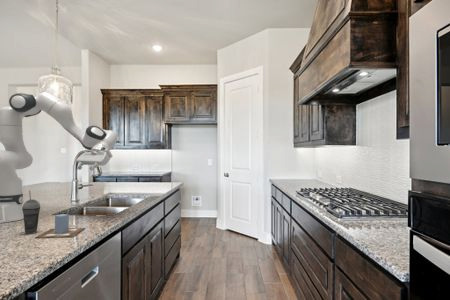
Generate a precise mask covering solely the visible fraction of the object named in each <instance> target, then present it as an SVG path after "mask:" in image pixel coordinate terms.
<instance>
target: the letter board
mask: <svg viewBox="0 0 450 300" xmlns="http://www.w3.org/2000/svg"><path fill="white" fill-rule="evenodd" d="M84 230H86V227H69V232H66V233H62V234H59V233H55V228H50V229H47V230H45V231H44V232H42V233H40V234H38V235H36V236H35V237H34V238H35V239H57V238H58V239H60V238H61V239H62V238H75V237H76V236H78V235H79V234H80V233H82V232H83V231H84Z"/></svg>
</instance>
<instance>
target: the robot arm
mask: <svg viewBox="0 0 450 300" xmlns="http://www.w3.org/2000/svg"><path fill="white" fill-rule="evenodd" d="M8 100H9V101H8V104H9V106H4V107H2V108H0V143H1V144H2V145H3V147H4V149H5V150H2V149H1V150H0V224H3V223H9V222H11V223H12V222H17V221H20V220H24V215H23V210H22V208H23V204H24V194H23V179H22V178H20V177H19V176H18V173H17V170H23V169H26V168H29V167H30V166H32V164H33V160H34V159H33V156H32V154H31V153H30V152H29V151H28V150H27V148H26V145H25V143H24V139H23V138H24V135H23V119H24V117H25V118H29V117H33V116H37V115H39V114H41V112H42V111H43V113H46V114H47V115H48V116H50V117H51V118H53V120H55V121H56V122H57V123H59V125H60V126H62V128H63V129H64V130H65V131H67V132H68V133H69V134H70V135H71V136H73V137H74V138H75V139H76V140H78V141H79V143H80V145H82V147H83V148H84V149H85V150H89V151H86V152H83V153H81V154H80V155H79V156H78V157H77V158H76V159H75V160H76V163H78V166H77V167H76V169H77V170H82V169H83V166H85V165H86V166H90V167H89V170H90V171H95V169H96V168H99V167H100V166H101V167H102V166H103V167H104V166H106V165H107V164H108V163H109V161H110V160H111V158H113V154H112V153H111V151H110V150H112V149H113V148H114V147H115V145H116V143H117V142H118V135H117V133H116V132H115V131H113V130H111V129H108V130H107V129H104V128H101V127H100V126H97V125H89V126H88V127H86V128H85V130H83V129H82V128H81V127H80V126H78V125H77V124H76V122H75V121H74V117H73V110H72V108H71V107H70V106H69V104H67V102H65V101H63V100H62V99H60V98H59V97H57V96H55V95H54V94H52V93H50V92H48V91H43V92H40V93H38V95H36V96H34V95H33V94H28V93H23V92H22V93H21V92H19V93H14V94H12V95H11V96H10V97H9V99H8Z"/></svg>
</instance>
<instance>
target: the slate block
mask: <svg viewBox="0 0 450 300" xmlns="http://www.w3.org/2000/svg"><path fill="white" fill-rule="evenodd" d="M69 219H70V214H64V213H61V214H57V215H54V229H55V233H59V234H62V233H66V232H69V228H70V224H69V222H70V221H69Z"/></svg>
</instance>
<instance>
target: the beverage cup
mask: <svg viewBox="0 0 450 300" xmlns="http://www.w3.org/2000/svg"><path fill="white" fill-rule="evenodd" d="M28 194H29V199H28V200H26V201H25V202H23V204H22V206H23V208H22V210H23V215H24V219H23V227H24V232H25V233H24V234H27V235H28V234H29V235H30V234H31V235H32V234H35V233H37V232H38V225H39V217H40V212H41V208H42V207H41V204H40V201H38V200H37V199H32V195H31V190H28Z"/></svg>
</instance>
